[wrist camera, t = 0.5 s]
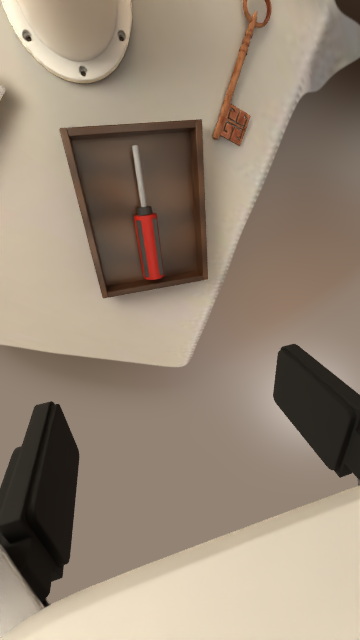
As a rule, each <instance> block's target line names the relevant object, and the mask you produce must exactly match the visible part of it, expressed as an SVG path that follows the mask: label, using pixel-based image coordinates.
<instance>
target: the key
mask: <svg viewBox="0 0 360 640" xmlns="http://www.w3.org/2000/svg"><path fill="white" fill-rule="evenodd" d="M265 2H266V5H267V16H266V19H265V21H264V22H263V23H258V22H256V21H257V11H255V13H254V15H253V16H252V18H251V16H250V14H249V12H248V8H247V0H243V10H244V14H245V17H246V19H247V20H248V22H249V26H248V29H247V31H246V34H245V39H244V40H243V43H242V46H241V48H240V50H239V52H240V53H239V56H238V59H237V62H236V65H235V69H234V72H233V75H232V78H231V81H230V84H229V87H228V91H227V94H226V97H225V100H224V103H223V106H222V110H221V113H220V116H219V119H218V122H217V125H216V128H215V132H214V135H213V138H214V139H216V140H218V139H219V136H220V135H221V136H223V137H224V138H226V139H228V140H229V138H230V135H231V132H232V129H233V126H232V125H230V124H229V123H226V121H228V122H230V123H232V124H233V125H235V126H237V127H238V128H240V129H242V130H243V131H241V130H239V129H237V128H236V127H234V129H233V132H232V135H231V138H230V141H232V142H234V143H236V144H237V145H239V146H240V144H241V142H242V139H243V136H244V133H245V130H246V128H247V125H248V122H249V119H250V115H248V114H247V113H245V112H243V111H242V110H240V111H239V108H237V107H235V106H234V105H232V104H231V103H230V102H231V99H232V96H233V93H234V90H235V87H236V84H237V81H238V78H239V75H240V72H241V68H242V65H243V62H244V59H245V56H246V55H247V51H248V47H249V44H250V39H251V38H252V35H253V30H254V27H257V28H260V27H263V26H265V25H266V24H267V23H268V21H269V19H270V15H271V2H270V0H265ZM230 108H232V109H233V110H234V111H232V110H231V111H230ZM229 111H230V114H229ZM238 112H239V114H238ZM228 114H229V117H228ZM237 115H238V117H237ZM244 116H245V117H246V118H247V120H246V118H244ZM227 117H228V118H230V119H232V120H233V121H236V122H237V123H239V124H240V125H242V126H244V123H245V121H246V123H245V126H244V128H243V127H241V126H239V125H238V124H236V123H234V122H232V121H231V120H229V119H227ZM236 118H237V120H236ZM225 123H226V126H225ZM224 126H225V129H224ZM223 129H224V130H226V131H227V133H226V132H224V131H223ZM241 132H242V134H241ZM240 135H241V137H240ZM236 137H238V138H240V140H239V139H237V138H236Z"/></svg>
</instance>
